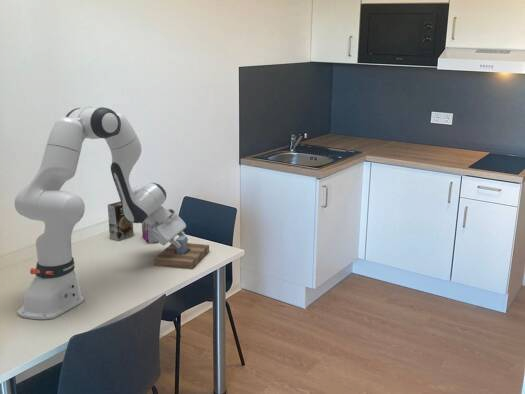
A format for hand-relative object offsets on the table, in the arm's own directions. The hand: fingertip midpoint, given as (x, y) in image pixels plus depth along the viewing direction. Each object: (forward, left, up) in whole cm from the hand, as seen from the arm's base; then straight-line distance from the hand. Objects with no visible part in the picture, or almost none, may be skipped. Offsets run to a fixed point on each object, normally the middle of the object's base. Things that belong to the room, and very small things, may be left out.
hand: (183, 244), depth 229 cm
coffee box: (+18, +38, -6) cm, 42 cm away
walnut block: (0, +1, -6) cm, 6 cm away
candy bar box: (+18, +24, -6) cm, 30 cm away
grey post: (0, +1, -6) cm, 6 cm away
